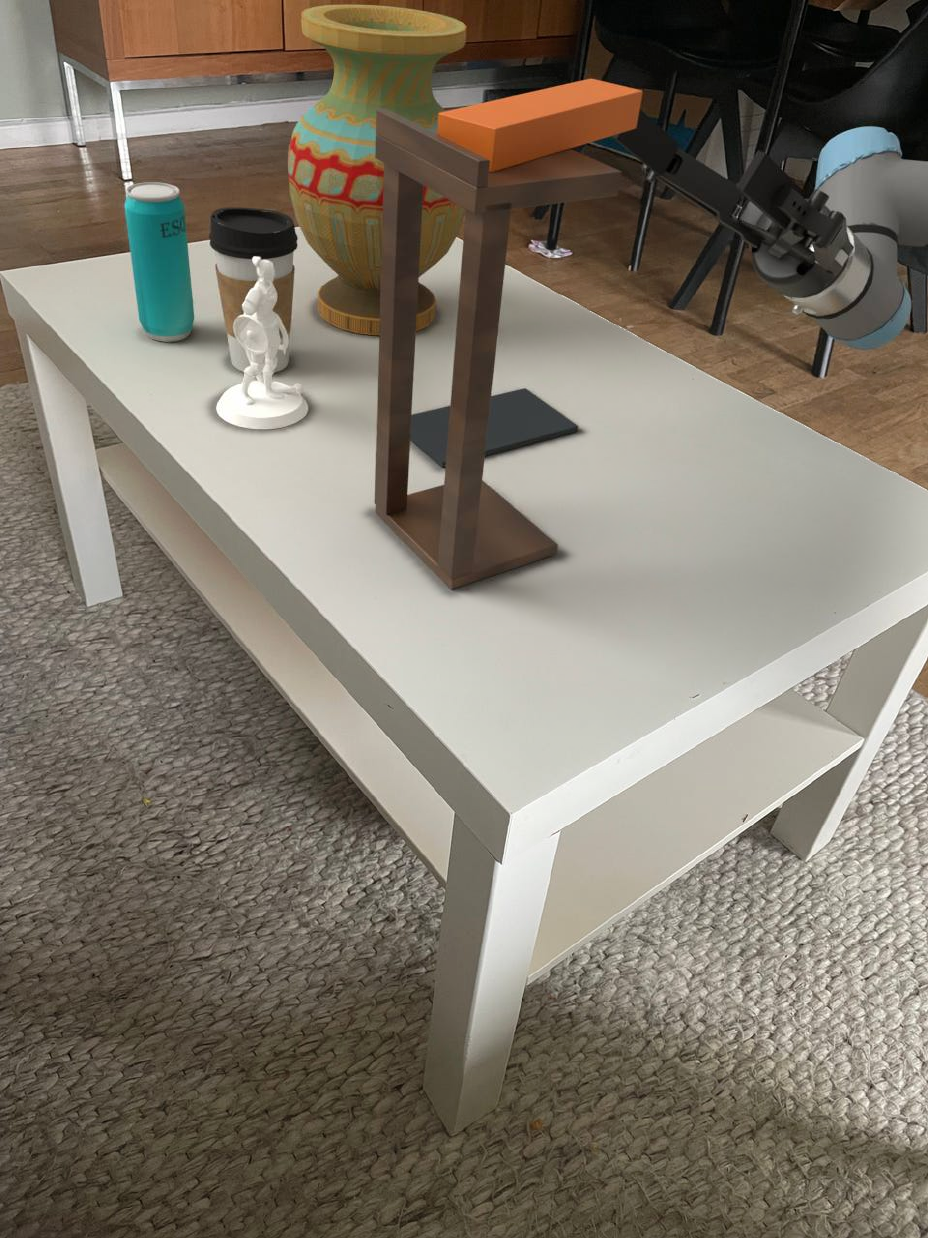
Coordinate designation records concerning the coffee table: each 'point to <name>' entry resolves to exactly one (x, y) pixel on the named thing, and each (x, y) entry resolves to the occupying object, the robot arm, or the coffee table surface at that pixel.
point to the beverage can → (160, 260)
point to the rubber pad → (494, 425)
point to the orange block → (542, 121)
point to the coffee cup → (252, 267)
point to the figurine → (261, 363)
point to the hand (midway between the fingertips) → (682, 143)
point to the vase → (367, 151)
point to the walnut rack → (465, 505)
